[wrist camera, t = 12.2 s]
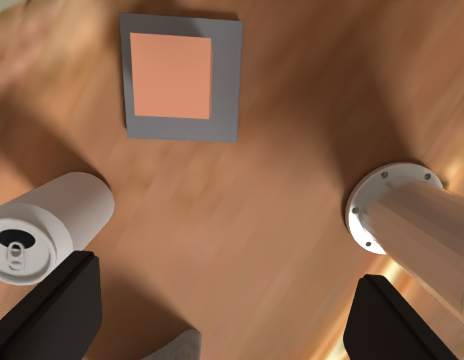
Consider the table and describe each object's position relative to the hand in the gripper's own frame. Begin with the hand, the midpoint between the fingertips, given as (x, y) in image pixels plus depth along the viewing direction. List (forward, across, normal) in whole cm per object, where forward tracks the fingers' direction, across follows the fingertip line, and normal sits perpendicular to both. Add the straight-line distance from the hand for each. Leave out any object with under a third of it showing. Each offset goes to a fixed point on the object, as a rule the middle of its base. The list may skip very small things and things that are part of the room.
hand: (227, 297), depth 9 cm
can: (+22, +17, +6) cm, 29 cm away
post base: (+23, +6, -8) cm, 25 cm away
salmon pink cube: (+21, +6, -8) cm, 23 cm away
